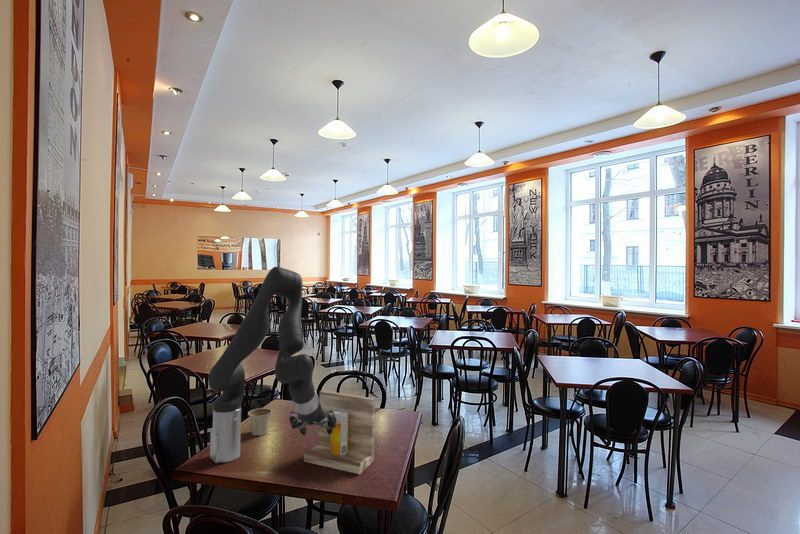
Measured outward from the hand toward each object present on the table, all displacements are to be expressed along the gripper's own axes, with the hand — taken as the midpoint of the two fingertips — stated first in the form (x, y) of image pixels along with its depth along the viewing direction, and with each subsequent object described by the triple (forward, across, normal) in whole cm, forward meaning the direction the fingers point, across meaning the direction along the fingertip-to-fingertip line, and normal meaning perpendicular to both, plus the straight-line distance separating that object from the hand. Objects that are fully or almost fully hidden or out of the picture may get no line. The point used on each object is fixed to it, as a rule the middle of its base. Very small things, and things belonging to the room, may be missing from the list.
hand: (317, 432), depth 136 cm
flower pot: (+27, +33, -17) cm, 45 cm away
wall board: (+16, -5, +1) cm, 17 cm away
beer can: (+14, -5, 0) cm, 15 cm away
